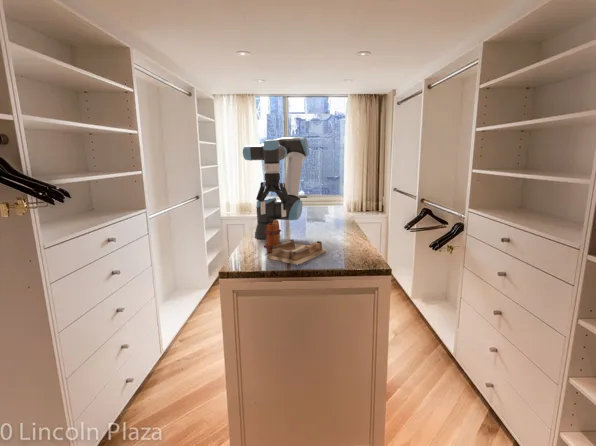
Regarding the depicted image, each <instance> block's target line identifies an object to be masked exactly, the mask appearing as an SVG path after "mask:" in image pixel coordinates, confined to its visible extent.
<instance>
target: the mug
mask: <svg viewBox="0 0 596 446" xmlns="http://www.w3.org/2000/svg"><path fill="white" fill-rule="evenodd" d="M281 232H282V230H281V229H280V223H279V220H274V221H273V223H272V224H271V223H269V224H267V225H266V230H265V231H264V233H265V234H266V239H265V240H266V243H265V244H264V246H263V247H264V248H265V249H266V252H267V253H269V254H271V253H272V249H273V246H275V245H278V244H281V243H282V242H281V241H280V236H279V233H280V234H281Z"/></svg>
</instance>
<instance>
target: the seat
mask: <svg viewBox="0 0 596 446" xmlns="http://www.w3.org/2000/svg"><path fill="white" fill-rule="evenodd" d="M280 243H281V244H278V245H275V246H273V249H272V253H268V254H266V259H269V260H273V261H278V262H283V263H287V264H290V263H291V265H295V264H297V265H296V266H299V265H301V264H303V263H305V262H307V261H310V260H312V259H314V258H316V257H318V256H320V255H322V254H325V253H327V248H324V247H322V250H319V251H316V252H314V253H311V254H309V248H305V246H307V245H308V244H307V245H306V244H300V243H296V241H295V239H289V240H287V241H284V242H280ZM298 264H299V265H298Z"/></svg>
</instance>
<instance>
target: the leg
mask: <svg viewBox="0 0 596 446" xmlns="http://www.w3.org/2000/svg"><path fill="white" fill-rule="evenodd" d="M305 248H309V254H311V253H314V252H316V251H319V250H322V248H323V242H322V241H321V240H318V241H315V242H313V243H311V244H307V246H305Z"/></svg>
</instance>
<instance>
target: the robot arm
mask: <svg viewBox="0 0 596 446" xmlns="http://www.w3.org/2000/svg"><path fill="white" fill-rule="evenodd" d="M309 154H310V147H309V142H308V139H307V138H306V137H305V136H297V137H296V136H295V137H293V136H292V137H291V136H290V137H279V138H275V139H266V140H264V141H263V143H261V144H260V143H259V144H255V145H245V146H243V149H242V156H243V158H244V161H245V160H246V161H263V167H264V181H260V187H259V189H258V192H257V195H256V199H255V200H256V206H255V207H256V222H257V223H256V227H255V232H254V238H256V239H259V240H266V234H265V233H264V231H265V230H266V225H267V224H269V223H271V224H272V223H273V221H274V220H278V221H279V220H280V221H298V220H300V217H301V215H302V213H303V200H301V198H300V196H299V191H300V184H301V175H302V169H303V168H302V167H303V162H304V161H305V160H306V157H308V156H309ZM286 158H287V160H288V161H287V167H286V177H285V182H280V180H281V174H280V171H281V167H280V166H281V165H280V161H282V160H284V159H286ZM270 192H272V193H275V194H276V195H277V197H278V198H279V199H277V197H276V196H271V197H267V196H268V195H269V193H270ZM279 237H281V232H280V233H279Z"/></svg>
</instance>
